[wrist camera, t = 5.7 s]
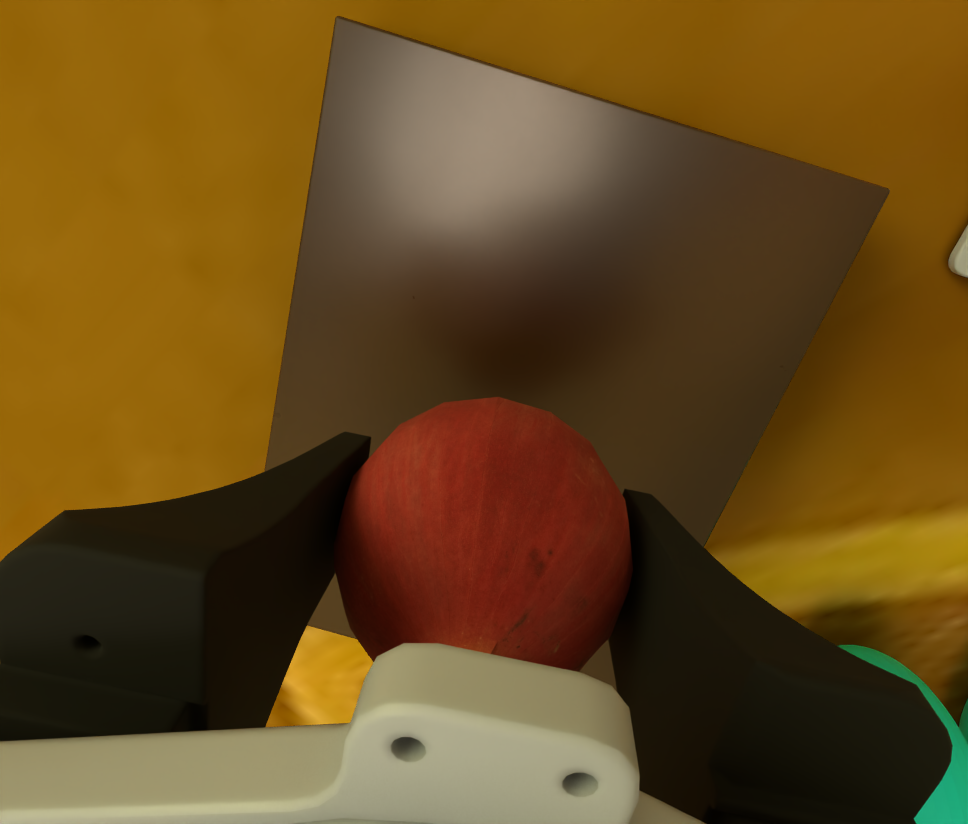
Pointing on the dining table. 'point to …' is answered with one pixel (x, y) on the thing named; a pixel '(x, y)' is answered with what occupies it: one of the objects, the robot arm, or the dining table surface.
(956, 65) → the dining table surface
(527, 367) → the platform
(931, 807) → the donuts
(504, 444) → the onion
